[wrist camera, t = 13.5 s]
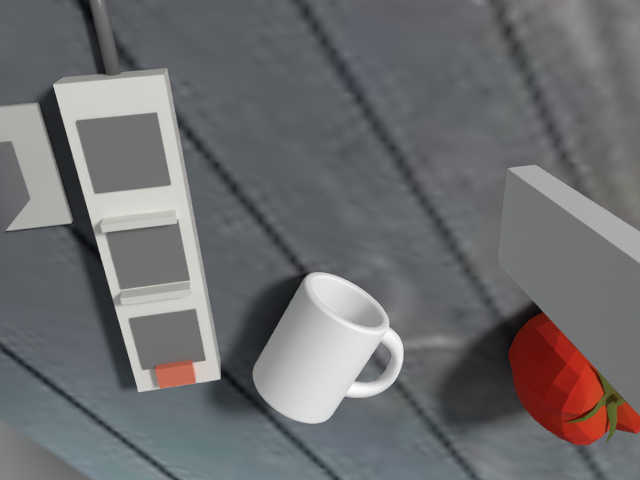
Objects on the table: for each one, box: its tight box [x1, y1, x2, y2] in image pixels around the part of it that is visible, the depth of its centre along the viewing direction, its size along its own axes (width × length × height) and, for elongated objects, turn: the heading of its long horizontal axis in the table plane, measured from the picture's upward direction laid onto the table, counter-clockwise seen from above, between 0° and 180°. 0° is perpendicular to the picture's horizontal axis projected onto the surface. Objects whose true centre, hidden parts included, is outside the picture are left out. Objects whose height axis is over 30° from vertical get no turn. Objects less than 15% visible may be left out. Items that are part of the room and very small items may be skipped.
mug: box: [253, 272, 403, 424], centre depth 47 cm, size 12×10×8 cm
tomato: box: [508, 312, 640, 445], centre depth 51 cm, size 14×13×10 cm
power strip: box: [53, 0, 221, 392], centre depth 40 cm, size 34×7×4 cm, turn 4°
